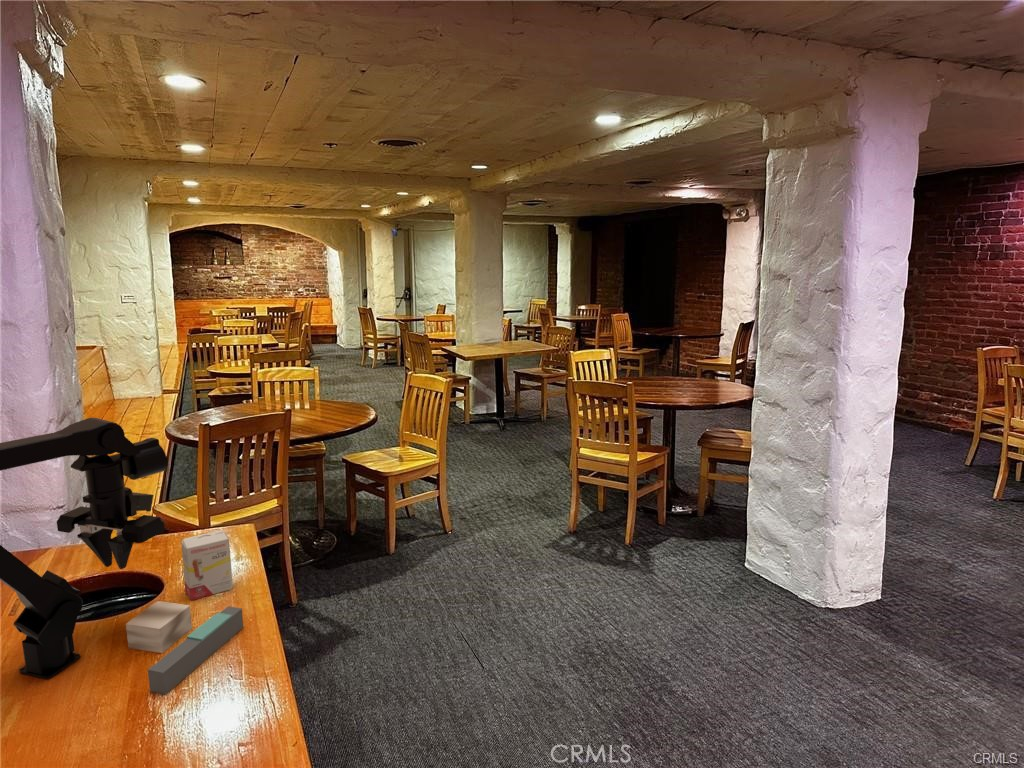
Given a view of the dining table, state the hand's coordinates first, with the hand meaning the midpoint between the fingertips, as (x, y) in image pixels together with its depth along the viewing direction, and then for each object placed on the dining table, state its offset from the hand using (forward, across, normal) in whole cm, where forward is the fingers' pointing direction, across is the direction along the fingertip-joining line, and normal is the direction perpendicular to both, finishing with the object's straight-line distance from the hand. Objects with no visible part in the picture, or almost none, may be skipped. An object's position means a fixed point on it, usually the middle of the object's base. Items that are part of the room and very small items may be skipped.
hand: (115, 567), depth 123 cm
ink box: (+13, -6, -17) cm, 22 cm away
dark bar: (+13, -20, +3) cm, 24 cm away
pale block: (+13, -8, 0) cm, 16 cm away
